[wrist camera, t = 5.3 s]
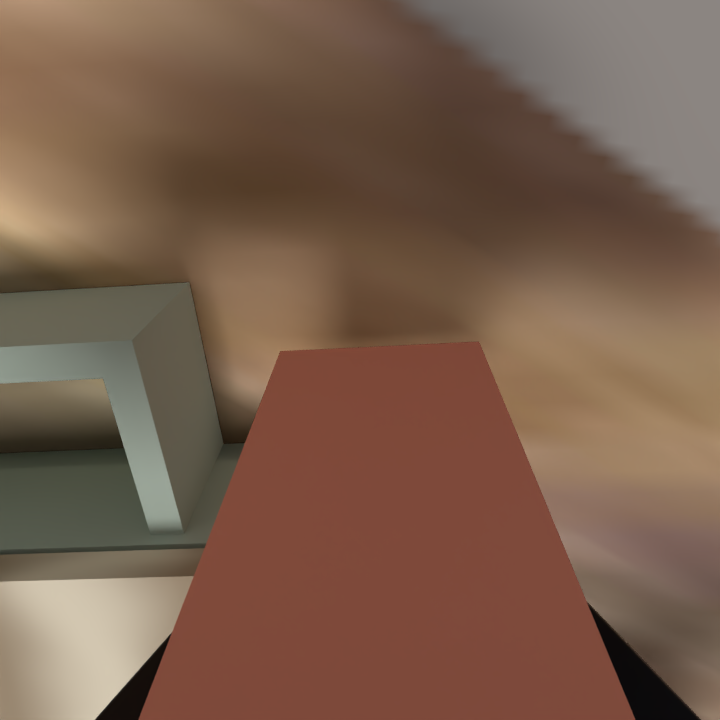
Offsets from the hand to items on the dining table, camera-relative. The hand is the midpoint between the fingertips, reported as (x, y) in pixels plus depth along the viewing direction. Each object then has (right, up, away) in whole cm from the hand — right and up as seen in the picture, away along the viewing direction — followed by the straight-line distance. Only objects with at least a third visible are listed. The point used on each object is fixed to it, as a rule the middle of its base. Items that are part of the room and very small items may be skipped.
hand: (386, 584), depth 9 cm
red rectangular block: (0, +2, +4) cm, 5 cm away
